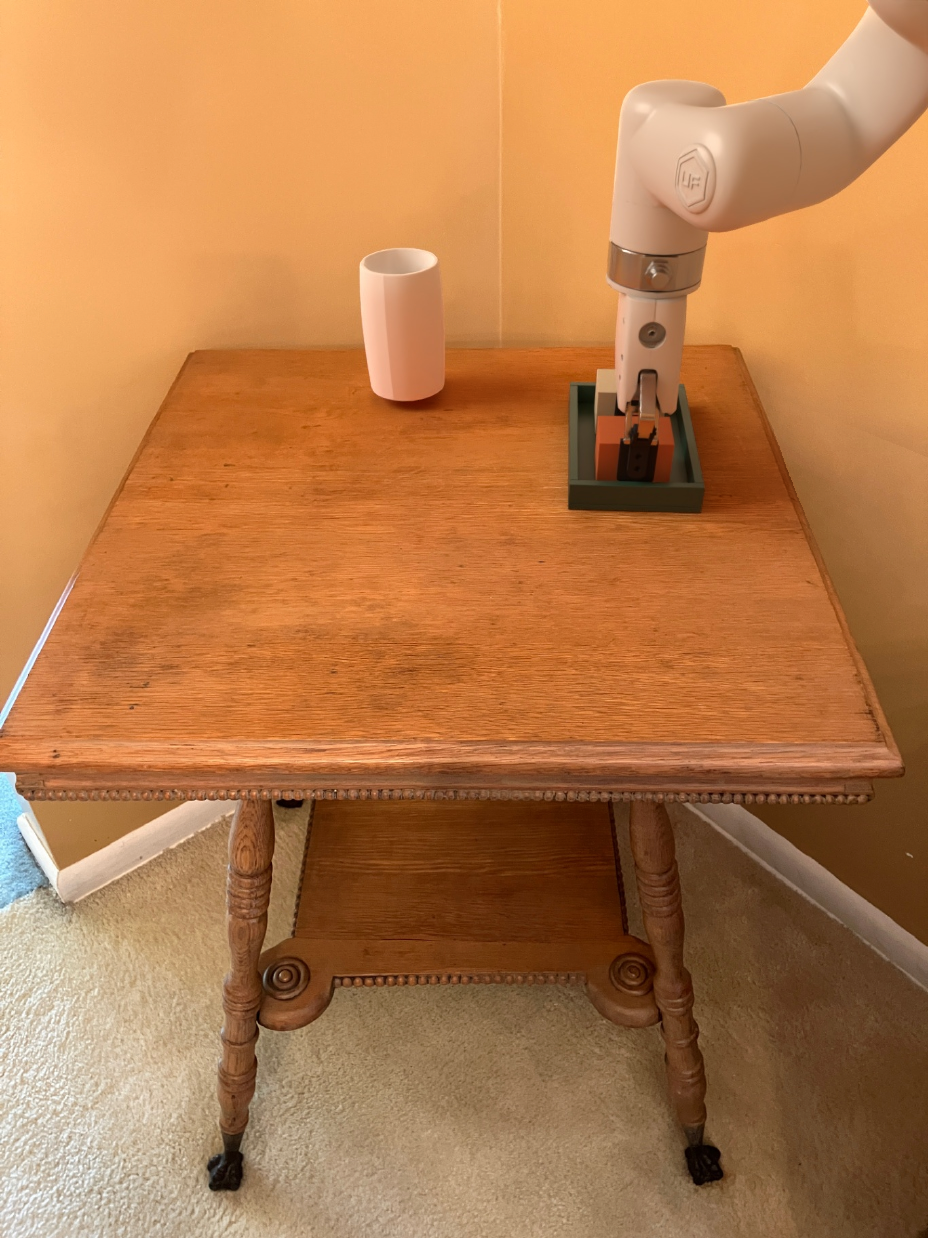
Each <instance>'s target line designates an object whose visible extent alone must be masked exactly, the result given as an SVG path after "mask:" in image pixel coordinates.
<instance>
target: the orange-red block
mask: <svg viewBox="0 0 928 1238" xmlns="http://www.w3.org/2000/svg"><path fill="white" fill-rule="evenodd" d="M637 420H638V416H632V427H633V425H634V424H637ZM624 426H625V416H598V420H597V434H596V447H595V481H618V480H617V475H616V474H617V465H618V456H619V447H620V438H624ZM658 440H659V445H658V453H657V460H656V467H655V474H654V480H653V481H652V482H669V481H670V474H671V467H672V460H673V453H674V446H675V445H674V439H673V433H672V427H671V421H670V417H659V428H658Z"/></svg>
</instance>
